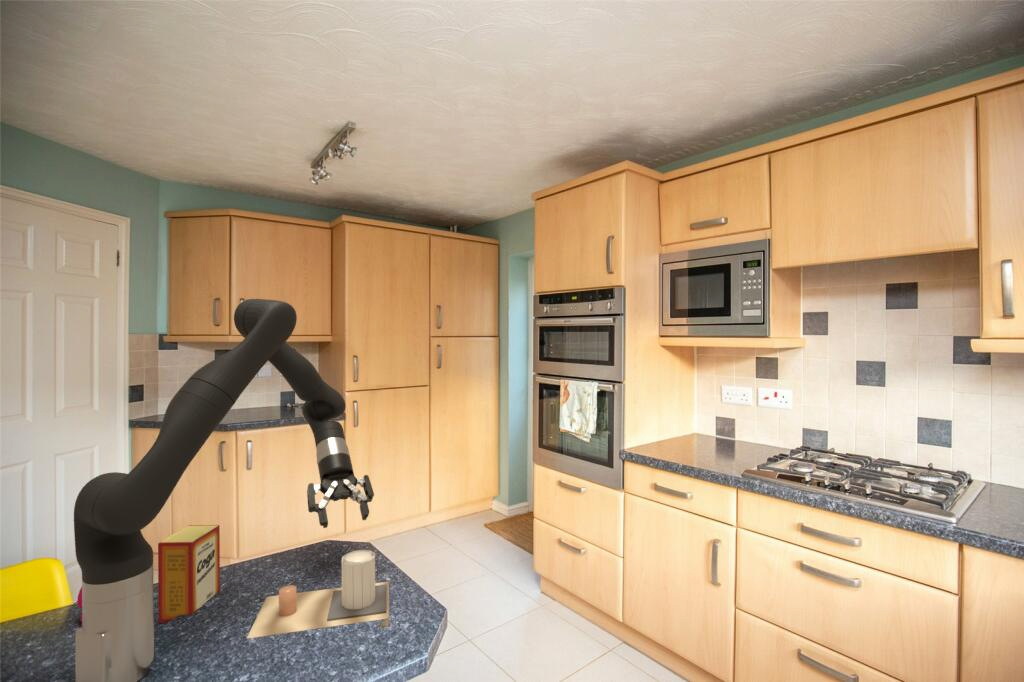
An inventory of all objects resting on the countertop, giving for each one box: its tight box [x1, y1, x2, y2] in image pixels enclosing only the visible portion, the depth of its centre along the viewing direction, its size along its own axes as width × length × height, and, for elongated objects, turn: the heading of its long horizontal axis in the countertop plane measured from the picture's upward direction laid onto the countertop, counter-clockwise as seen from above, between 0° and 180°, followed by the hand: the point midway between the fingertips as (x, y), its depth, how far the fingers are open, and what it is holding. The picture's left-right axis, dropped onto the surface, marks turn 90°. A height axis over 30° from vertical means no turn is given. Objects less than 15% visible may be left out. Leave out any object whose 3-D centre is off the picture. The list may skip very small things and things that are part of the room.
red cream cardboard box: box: [157, 524, 221, 623], centre depth 101 cm, size 10×6×16 cm
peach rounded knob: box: [278, 584, 297, 616], centre depth 97 cm, size 3×3×4 cm
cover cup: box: [340, 549, 376, 609], centre depth 100 cm, size 6×6×9 cm
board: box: [246, 581, 390, 640], centre depth 98 cm, size 25×15×2 cm, turn 104°
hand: (346, 522), depth 109 cm, fingers open, 8 cm apart
